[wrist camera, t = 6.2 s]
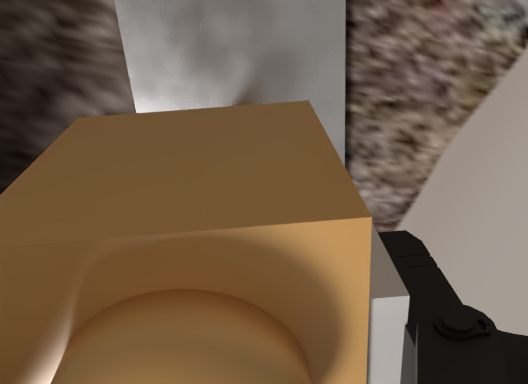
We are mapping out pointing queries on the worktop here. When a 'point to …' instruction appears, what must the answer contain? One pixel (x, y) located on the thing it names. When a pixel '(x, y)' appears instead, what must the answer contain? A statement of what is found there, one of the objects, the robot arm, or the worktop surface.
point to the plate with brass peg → (237, 55)
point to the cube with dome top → (186, 253)
